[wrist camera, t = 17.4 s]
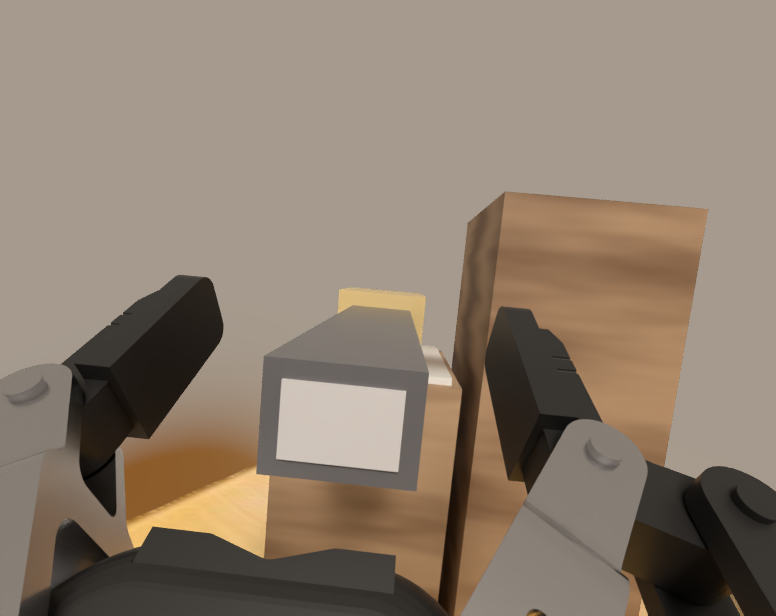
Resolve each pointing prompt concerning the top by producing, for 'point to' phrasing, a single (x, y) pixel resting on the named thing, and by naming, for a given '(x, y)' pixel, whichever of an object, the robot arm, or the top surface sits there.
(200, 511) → the top surface
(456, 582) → the brown stepped block
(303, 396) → the bar
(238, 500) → the top surface
